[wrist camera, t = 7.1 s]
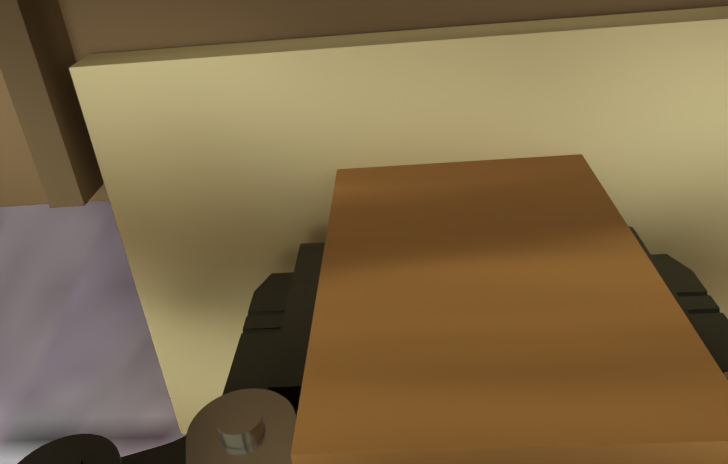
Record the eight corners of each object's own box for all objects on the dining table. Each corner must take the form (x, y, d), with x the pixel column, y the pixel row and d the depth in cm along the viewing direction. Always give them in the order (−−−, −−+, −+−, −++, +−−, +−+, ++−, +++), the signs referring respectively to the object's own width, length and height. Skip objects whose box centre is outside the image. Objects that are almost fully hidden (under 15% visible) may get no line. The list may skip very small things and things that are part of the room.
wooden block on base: (88, 54, 11) (-263, 288, 5) (845, -3, 10) (1486, 197, 4) (190, 406, 15) (61, 769, 9) (739, 387, 14) (993, 772, 8)
